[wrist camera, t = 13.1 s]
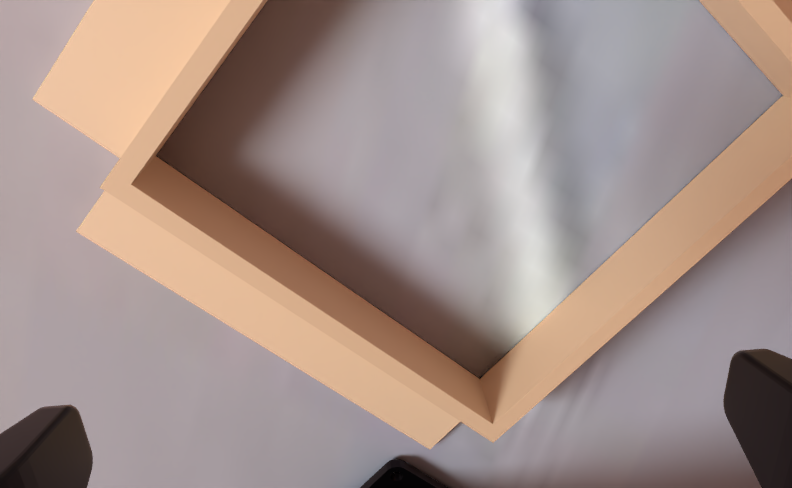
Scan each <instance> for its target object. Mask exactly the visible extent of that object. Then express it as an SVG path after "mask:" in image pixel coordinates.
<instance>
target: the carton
mask: <svg viewBox="0 0 792 488" xmlns="http://www.w3.org/2000/svg"><path fill="white" fill-rule="evenodd" d="M267 1H268V0H94V1H93V3H92V4H91V6H90V7H89V9H88V11H87V12H86V14H85V15H84V17H83V19H82V20H81V22H80V23H79V25H78V27H77V28H76V30H75V31H74V33H73V35H72V36H71V38H70V39H69V41H68V43H67V44H66V46H65V48H64V49H63V51H62V52H61V54H60V56H59V57H58V59H57V60H56V62H55V64H54V65H53V67H52V68H51V70H50V72H49V73H48V75H47V76H46V78H45V80H44V81H43V83H42V84H41V86H40V88H39V89H38V91H37V92H36V94H35V96H34V97H33V100H34V101H36V102H37V103H38V104H40V105H41V106H43V107H44V108H46V109H47V110H49V111H50V112H52V113H53V114H55V115H56V116H58V117H59V118H61V119H62V120H64V121H65V122H67V123H68V124H70V125H71V126H73V127H74V128H76V129H77V130H79V131H80V132H82V133H83V134H85V135H86V136H88V137H89V138H90V139H92V140H93V141H95V142H96V143H98V144H99V145H101V146H102V147H104V148H105V149H107V150H108V151H110V152H111V153H113V154H114V155H116V156H117V157H119V158H120V159H119V161H118V162H117V163H116V165H115V166H114V168H113V169H112V171H111V172H110V173H109V175H108V176H107V178H106V179H105V181H104V182H103V183H102V185H101V186H100V188H101V189H103V190H105V191H104V192H103V194H102V195H101V197H100V198H99V199H98V201H97V202H96V204H95V205H94V206H93V208H92V209H91V211H90V212H89V214H88V215H87V216H86V218H85V219H84V221H83V222H82V224H81V225H80V226H79V228H78V229H77V231H76V232H78V233H79V234H81V235H83V236H84V237H86V238H87V239H89V240H91V241H92V242H94V243H96V244H97V245H99V246H100V247H102V248H104V249H105V250H107V251H109V252H110V253H112V254H113V255H115V256H117V257H118V258H120V259H121V260H123V261H125V262H126V263H128V264H130V265H131V266H133V267H134V268H136V269H138V270H139V271H141V272H143V273H144V274H146V275H147V276H149V277H151V278H152V279H154V280H156V281H157V282H159V283H160V284H162V285H164V286H165V287H167V288H169V289H170V290H172V291H173V292H175V293H177V294H178V295H180V296H182V297H183V298H185V299H186V300H188V301H190V302H191V303H193V304H194V305H196V306H198V307H199V308H201V309H203V310H204V311H206V312H207V313H209V314H211V315H212V316H214V317H216V318H217V319H219V320H220V321H222V322H224V323H225V324H227V325H229V326H230V327H232V328H233V329H235V330H237V331H238V332H240V333H242V334H243V335H245V336H246V337H248V338H250V339H251V340H253V341H255V342H256V343H258V344H259V345H261V346H263V347H264V348H266V349H267V350H269V351H271V352H272V353H274V354H276V355H277V356H279V357H280V358H282V359H284V360H285V361H287V362H289V363H290V364H292V365H293V366H295V367H297V368H298V369H300V370H302V371H303V372H305V373H306V374H308V375H310V376H311V377H313V378H315V379H316V380H318V381H319V382H321V383H323V384H324V385H326V386H328V387H329V388H331V389H332V390H334V391H336V392H337V393H339V394H340V395H342V396H344V397H345V398H347V399H349V400H350V401H352V402H353V403H355V404H357V405H358V406H360V407H362V408H363V409H365V410H366V411H368V412H370V413H371V414H373V415H375V416H376V417H378V418H379V419H381V420H383V421H384V422H386V423H388V424H389V425H391V426H392V427H394V428H396V429H397V430H399V431H401V432H402V433H404V434H405V435H407V436H409V437H410V438H412V439H413V440H415V441H417V442H418V443H420V444H422V445H423V446H425V447H426V448H428V449H431V448H432V447H433V446H434V445H435V444H436V443H438V442H439V441H440V440H441V439H442V438H443V437H444V436H445V435H446V434H447V433H448V432H449V431H451V430H452V429H453V428H454V427H455V426H456V425H457V424H458V423H459V422H462V423H464V424H465V425H467V426H468V427H470V428H471V429H473V430H474V431H476V432H477V433H479V434H480V435H482V436H484V437H485V438H487V439H488V440H490V441H491V442H493V443H494V442H495V441H496V440H497V439H498V438H499V437H500V436H501V435H503V434H504V433H505V432H506V431H507V430H508V429H509V428H511V427H512V426H513V425H514V424H515V423H516V422H517V421H518V420H520V419H521V418H522V417H523V416H524V415H525V414H526V413H527V412H529V411H530V410H531V409H532V408H533V407H534V406H535V405H537V404H538V403H539V402H540V401H541V400H542V399H543V398H544V397H546V396H547V395H548V394H549V393H550V392H551V391H552V390H553V389H555V388H556V387H557V386H558V385H559V384H560V383H561V382H562V381H564V380H565V379H566V378H567V377H568V376H569V375H570V374H572V373H573V372H574V371H575V370H576V369H577V368H578V367H579V366H581V365H582V364H583V363H584V362H585V361H586V360H587V359H588V358H590V357H591V356H592V355H593V354H594V353H595V352H596V351H597V350H599V349H600V348H601V347H602V346H603V345H604V344H605V343H607V342H608V341H609V340H610V339H611V338H612V337H613V336H614V335H616V334H617V333H618V332H619V331H620V330H621V329H622V328H623V327H625V326H626V325H627V324H628V323H629V322H630V321H631V320H632V319H634V318H635V317H636V316H637V315H638V314H639V313H640V312H642V311H643V310H644V309H645V308H646V307H647V306H648V305H649V304H651V303H652V302H653V301H654V300H655V299H656V298H657V297H658V296H660V295H661V294H662V293H663V292H664V291H665V290H666V289H668V288H669V287H670V286H671V285H672V284H673V283H674V282H675V281H677V280H678V279H679V278H680V277H681V276H682V275H683V274H684V273H686V272H687V271H688V270H689V269H690V268H691V267H692V266H693V265H695V264H696V263H697V262H698V261H699V260H700V259H701V258H703V257H704V256H705V255H706V254H707V253H708V252H709V251H710V250H712V249H713V248H714V247H715V246H716V245H717V244H718V243H719V242H721V241H722V240H723V239H724V238H725V237H726V236H727V235H728V234H730V233H731V232H732V231H733V230H734V229H735V228H736V227H738V226H739V225H740V224H741V223H742V222H743V221H744V220H745V219H747V218H748V217H749V216H750V215H751V214H752V213H753V212H754V211H756V210H757V209H758V208H759V207H760V206H761V205H762V204H763V203H765V202H766V201H767V200H768V199H769V198H770V197H771V196H773V195H774V194H775V193H776V192H777V191H778V190H779V189H780V188H782V187H783V186H784V185H785V184H786V183H787V182H788V181H789V180H791V179H792V0H699V1H700V2H701V3H702V4H703V6H704V7H705V8H706V9H707V10H708V11H709V12H710V13H711V15H712V16H713V17H714V18H715V19H716V20H717V21H718V23H719V24H720V25H721V26H722V27H723V28H724V29H725V30H726V32H727V33H728V34H729V35H730V36H731V37H732V38H733V39H734V41H735V42H736V43H737V44H738V45H739V46H740V47H741V49H742V50H743V51H744V52H745V53H746V54H747V55H748V56H749V58H750V59H751V60H752V61H753V62H754V63H755V64H756V65H757V67H758V68H759V69H760V70H761V71H762V72H763V73H764V75H765V76H766V77H767V78H768V79H769V80H770V81H771V82H772V84H773V85H774V86H775V87H776V88H777V89H778V90H779V91H780V93H781V94H782V95H783V96H782V97H781V98H780V99H779V100H777V101H776V102H775V103H774V104H773V105H772V106H771V107H770V108H769V109H768V110H767V111H766V112H765V113H764V114H763V115H761V116H760V117H759V118H758V119H757V120H756V121H755V122H754V123H753V124H752V125H751V126H750V127H749V128H748V129H746V130H745V131H744V132H743V133H742V134H741V135H740V136H739V137H738V138H737V139H736V140H735V141H734V142H733V143H732V144H730V145H729V146H728V147H727V148H726V149H725V150H724V151H723V152H722V153H721V154H720V155H719V156H718V157H717V158H716V159H714V160H713V161H712V162H711V163H710V164H709V165H708V166H707V167H706V168H705V169H704V170H703V171H702V172H701V173H699V174H698V175H697V176H696V177H695V178H694V179H693V180H692V181H691V182H690V183H689V184H688V185H687V186H686V187H685V188H683V189H682V190H681V191H680V192H679V193H678V194H677V195H676V196H675V197H674V198H673V199H672V200H671V201H670V202H669V203H667V204H666V205H665V206H664V207H663V208H662V209H661V210H660V211H659V212H658V213H657V214H656V215H655V216H654V217H652V218H651V219H650V220H649V221H648V222H647V223H646V224H645V225H644V226H643V227H642V228H641V229H640V230H639V231H638V232H636V233H635V234H634V235H633V236H632V237H631V238H630V239H629V240H628V241H627V242H626V243H625V244H624V245H623V246H622V247H620V248H619V249H618V250H617V251H616V252H615V253H614V254H613V255H612V256H611V257H610V258H609V259H608V260H607V261H605V262H604V263H603V264H602V265H601V266H600V267H599V268H598V269H597V270H596V271H595V272H594V273H593V274H592V275H591V276H589V277H588V278H587V279H586V280H585V281H584V282H583V283H582V284H581V285H580V286H579V287H578V288H577V289H576V290H575V291H573V292H572V293H571V294H570V295H569V296H568V297H567V298H566V299H565V300H564V301H563V302H562V303H561V304H560V305H558V306H557V307H556V308H555V309H554V310H553V311H552V312H551V313H550V314H549V315H548V316H547V317H546V318H545V319H544V320H542V321H541V322H540V323H539V324H538V325H537V326H536V327H535V328H534V329H533V330H532V331H531V332H530V333H529V334H528V335H526V336H525V337H524V338H523V339H522V340H521V341H520V342H519V343H518V344H517V345H516V346H515V347H514V348H513V349H511V350H510V351H509V352H508V353H507V354H506V355H505V356H504V357H503V358H502V359H501V360H500V361H499V362H498V363H497V364H495V365H494V366H493V367H492V368H491V369H490V370H489V371H488V372H487V373H486V374H485V375H484V376H483V377H482V378H480V379H479V378H478V377H476V376H475V375H473V374H472V373H470V372H469V371H467V370H466V369H464V368H463V367H462V366H460V365H459V364H457V363H456V362H454V361H453V360H451V359H450V358H448V357H447V356H446V355H444V354H443V353H441V352H440V351H438V350H437V349H435V348H434V347H433V346H431V345H430V344H428V343H427V342H425V341H424V340H422V339H421V338H419V337H418V336H417V335H415V334H414V333H412V332H411V331H409V330H408V329H406V328H405V327H403V326H402V325H401V324H399V323H398V322H396V321H395V320H393V319H392V318H390V317H389V316H387V315H386V314H385V313H383V312H382V311H380V310H379V309H377V308H376V307H374V306H373V305H371V304H370V303H369V302H367V301H366V300H364V299H363V298H361V297H360V296H358V295H357V294H355V293H354V292H353V291H351V290H350V289H348V288H347V287H345V286H344V285H342V284H341V283H339V282H338V281H337V280H335V279H334V278H332V277H331V276H329V275H328V274H326V273H325V272H323V271H322V270H321V269H319V268H318V267H316V266H315V265H313V264H312V263H310V262H309V261H307V260H306V259H305V258H303V257H302V256H300V255H299V254H297V253H296V252H294V251H293V250H292V249H290V248H289V247H287V246H286V245H284V244H283V243H281V242H280V241H278V240H277V239H276V238H274V237H273V236H271V235H270V234H268V233H267V232H265V231H264V230H262V229H261V228H260V227H258V226H257V225H255V224H254V223H252V222H251V221H249V220H248V219H246V218H245V217H244V216H242V215H241V214H239V213H238V212H236V211H235V210H233V209H232V208H230V207H229V206H228V205H226V204H225V203H223V202H222V201H220V200H219V199H217V198H216V197H214V196H213V195H212V194H210V193H209V192H207V191H206V190H204V189H203V188H201V187H200V186H198V185H197V184H196V183H194V182H193V181H191V180H190V179H188V178H187V177H185V176H184V175H182V174H181V173H180V172H178V171H177V170H175V169H174V168H172V167H171V166H169V165H168V164H167V163H165V162H164V161H162V160H161V159H159V158H158V157H156V155H157V153H158V152H159V151H160V149H161V148H162V146H163V145H164V144H165V142H166V141H167V139H168V138H169V137H170V135H171V134H172V132H173V131H174V130H175V128H176V127H177V126H178V124H179V123H180V121H181V120H182V119H183V117H184V116H185V114H186V113H187V112H188V110H189V109H190V108H191V106H192V105H193V103H194V102H195V101H196V99H197V98H198V96H199V95H200V94H201V92H202V91H203V89H204V88H205V87H206V85H207V84H208V83H209V81H210V80H211V78H212V77H213V76H214V74H215V73H216V71H217V70H218V69H219V67H220V66H221V65H222V63H223V62H224V60H225V59H226V58H227V56H228V55H229V53H230V52H231V51H232V49H233V48H234V46H235V45H236V44H237V42H238V41H239V40H240V38H241V37H242V35H243V34H244V33H245V31H246V30H247V28H248V27H249V26H250V24H251V23H252V22H253V20H254V19H255V17H256V16H257V15H258V13H259V12H260V10H261V9H262V8H263V6H264V5H265V3H266V2H267Z"/></svg>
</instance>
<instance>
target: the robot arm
mask: <svg viewBox="0 0 792 488" xmlns="http://www.w3.org/2000/svg"><path fill="white" fill-rule="evenodd" d="M724 410H725V414H726V416H727V419H728V421H729V423H730V425H731V427H732V429H733V431H734V433H735V435H736V437H737V439H738V441H739V443H740V445H741V447H742V449H743V451H744V453H745V455H746V457H747V459H748V461H749V463H750V465H751V467H752V469H753V471H754V473H755V475H756V477H757V479H758V481H759V483H760V485H761V487H762V488H792V359H790V358H788V357H785V356H783V355H781V354H778V353H776V352H773V351H771V350H768V349H754V350H742V351H738V352H737V353H735V354H734V355H733V357H732V359H731V363H730V368H729V373H728V378H727V383H726V388H725V394H724ZM92 464H93V457H92V451H91V447H90V444H89V441H88V438H87V435H86V432H85V429H84V425H83V422H82V419H81V416H80V414H79V411H78V410H77V409H76V407H74V406H72V405H60V406H47V407H42V408H40V409H38V410H36V411H35V412H33V413H32V414H30V415H29V416H27V417H26V418H24V419H22V420H21V421H19V422H18V423H16V424H15V425H13V426H12V427H10V428H9V429H7V430H6V431H4V432H3V433H1V434H0V488H87V485H88V482H89V478H90V474H91V470H92ZM397 471H398V472H399V473H393V472H397ZM361 488H448V487H446V486H445V485H443V484H441V483H440V482H438V481H436V480H435V479H433V478H431V477H430V476H428V475H426V474H425V473H423V472H421V471H420V470H418V469H416V468H415V467H413V466H411V465H410V464H408V463H406V462H405V461H402V460H396V459H395V460H391V461H389V462H388V463H386V464H385V465H384V466H383V467H382V468H381V469H380V470H379V471H378V472H377V473H376V474H374V475H373V476H372V477H371V478H370V479H369V480H368V481H367V482H366V483H365V484H364V485H363V486H362V487H361Z"/></svg>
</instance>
